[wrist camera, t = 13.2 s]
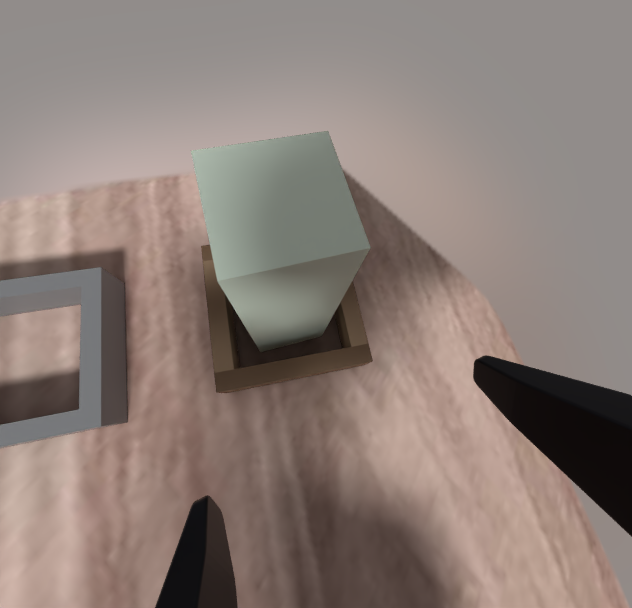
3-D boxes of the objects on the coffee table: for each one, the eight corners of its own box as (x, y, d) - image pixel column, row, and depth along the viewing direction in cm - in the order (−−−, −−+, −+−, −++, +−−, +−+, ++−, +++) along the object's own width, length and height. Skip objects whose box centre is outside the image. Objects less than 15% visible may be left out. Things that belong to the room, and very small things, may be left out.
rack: (362, 365, 19) (372, 361, 17) (225, 393, 18) (216, 392, 15) (333, 246, 21) (339, 228, 19) (211, 263, 20) (201, 246, 18)
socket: (127, 422, 17) (100, 426, 14) (-47, 457, 16) (-107, 469, 13) (124, 283, 19) (101, 267, 17) (-27, 304, 18) (-76, 290, 15)
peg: (321, 336, 19) (370, 247, 8) (260, 352, 19) (217, 281, 7) (305, 280, 20) (328, 130, 9) (247, 293, 20) (191, 150, 8)
